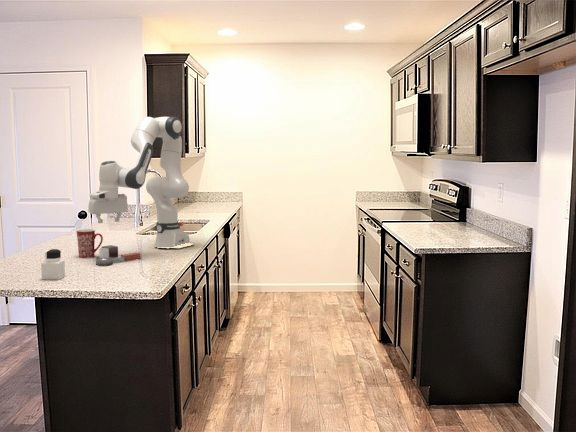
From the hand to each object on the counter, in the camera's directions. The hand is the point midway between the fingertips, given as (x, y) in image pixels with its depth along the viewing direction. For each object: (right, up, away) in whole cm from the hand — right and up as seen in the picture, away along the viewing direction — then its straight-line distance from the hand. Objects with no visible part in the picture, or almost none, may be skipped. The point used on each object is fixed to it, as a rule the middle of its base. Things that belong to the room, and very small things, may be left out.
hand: (108, 222), depth 275 cm
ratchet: (+6, -19, -6) cm, 21 cm away
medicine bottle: (-10, -23, -40) cm, 47 cm away
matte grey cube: (0, -18, +2) cm, 18 cm away
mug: (-11, -18, +6) cm, 22 cm away
